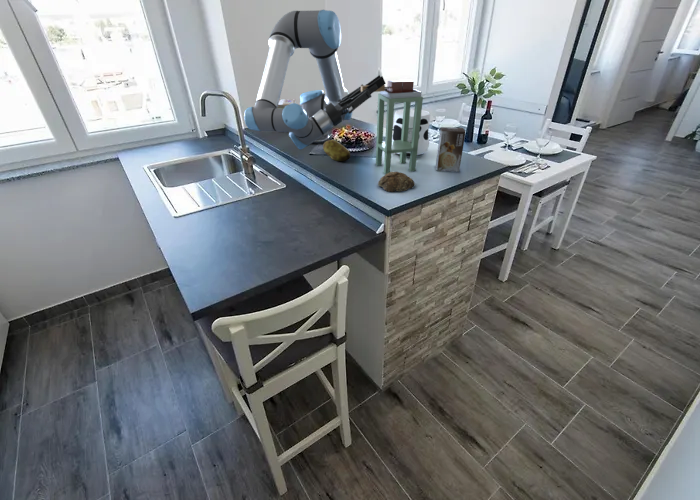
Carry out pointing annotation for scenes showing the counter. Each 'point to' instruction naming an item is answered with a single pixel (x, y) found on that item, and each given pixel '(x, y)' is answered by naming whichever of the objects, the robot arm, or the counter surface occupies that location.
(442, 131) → the coffee box
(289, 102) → the tea box
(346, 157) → the potato
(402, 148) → the shelf stand
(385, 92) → the steel pan
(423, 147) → the milk container
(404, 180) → the bread roll
